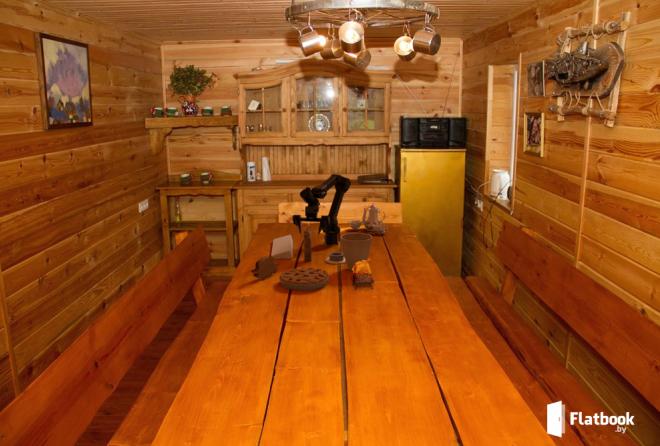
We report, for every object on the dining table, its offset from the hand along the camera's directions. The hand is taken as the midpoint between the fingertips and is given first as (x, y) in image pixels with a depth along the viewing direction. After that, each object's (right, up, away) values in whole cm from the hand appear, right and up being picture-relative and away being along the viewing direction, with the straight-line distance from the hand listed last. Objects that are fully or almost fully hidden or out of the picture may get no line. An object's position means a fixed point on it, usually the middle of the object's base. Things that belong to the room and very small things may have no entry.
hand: (309, 234), depth 283 cm
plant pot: (+23, -17, -17) cm, 33 cm away
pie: (-1, -21, -36) cm, 42 cm away
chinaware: (+35, +1, +60) cm, 70 cm away
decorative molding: (-15, -10, +18) cm, 25 cm away
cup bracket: (+14, -13, -3) cm, 19 cm away
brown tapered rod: (-1, -13, -3) cm, 14 cm away
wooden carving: (-19, -20, -29) cm, 39 cm away
